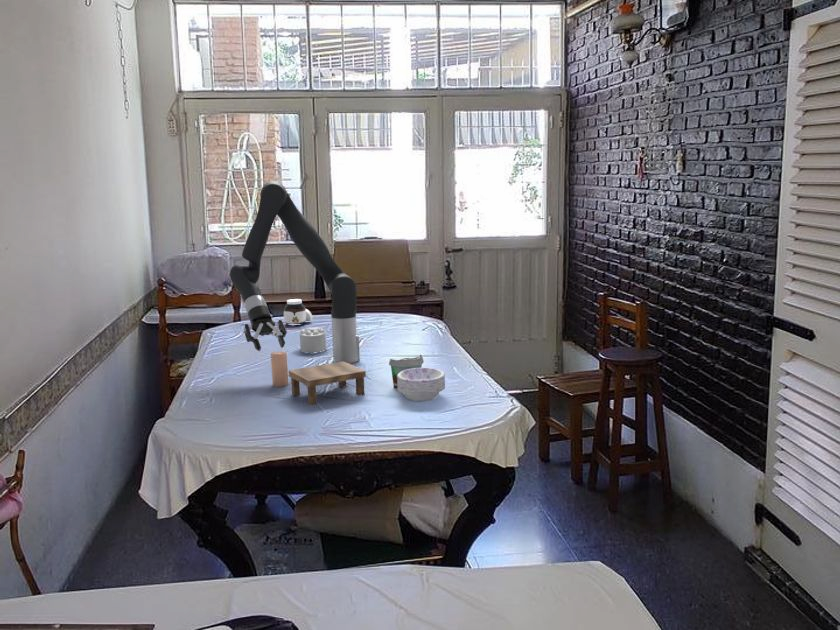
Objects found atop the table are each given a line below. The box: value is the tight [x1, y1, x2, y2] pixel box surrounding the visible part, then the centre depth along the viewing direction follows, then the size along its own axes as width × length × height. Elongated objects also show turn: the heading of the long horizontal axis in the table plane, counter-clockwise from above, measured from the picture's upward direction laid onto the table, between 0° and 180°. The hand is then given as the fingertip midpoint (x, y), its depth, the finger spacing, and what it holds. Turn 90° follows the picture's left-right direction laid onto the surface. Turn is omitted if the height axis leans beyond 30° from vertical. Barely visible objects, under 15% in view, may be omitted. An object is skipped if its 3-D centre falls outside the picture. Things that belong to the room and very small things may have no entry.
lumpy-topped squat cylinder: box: [299, 326, 327, 354], centre depth 328 cm, size 10×13×9 cm
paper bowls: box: [397, 367, 446, 402], centre depth 259 cm, size 15×15×8 cm
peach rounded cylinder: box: [270, 351, 289, 388], centre depth 277 cm, size 5×5×11 cm
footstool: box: [288, 361, 367, 406], centre depth 264 cm, size 20×16×8 cm
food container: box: [388, 354, 425, 390], centre depth 270 cm, size 12×6×10 cm, turn 117°
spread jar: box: [283, 298, 313, 325], centre depth 382 cm, size 12×11×12 cm
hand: (271, 347), depth 282 cm, fingers open, 8 cm apart
